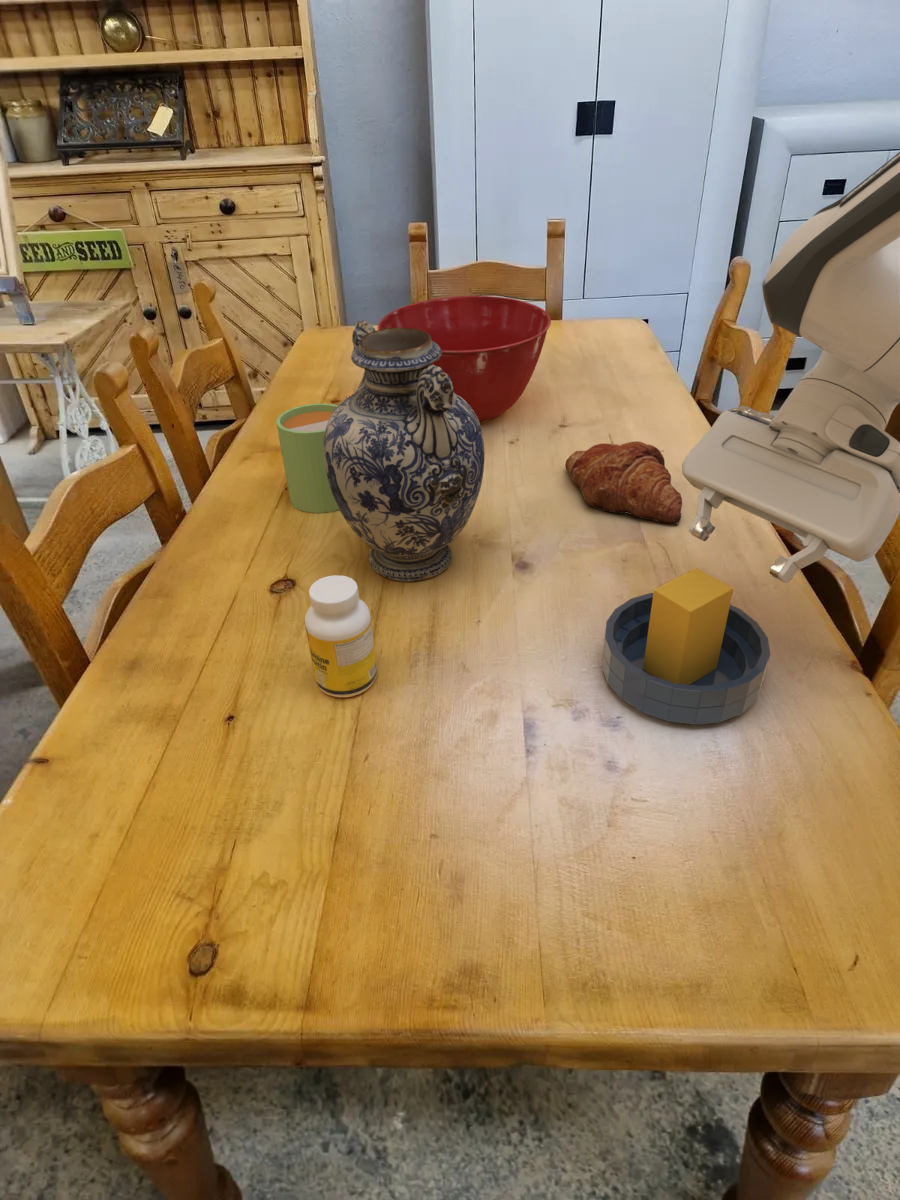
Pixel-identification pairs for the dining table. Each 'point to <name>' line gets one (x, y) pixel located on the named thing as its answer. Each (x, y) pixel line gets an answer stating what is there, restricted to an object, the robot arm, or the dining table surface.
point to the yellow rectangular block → (687, 627)
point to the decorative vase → (404, 454)
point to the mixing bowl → (480, 345)
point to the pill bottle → (340, 637)
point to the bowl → (682, 703)
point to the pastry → (626, 481)
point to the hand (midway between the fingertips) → (735, 556)
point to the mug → (306, 456)
